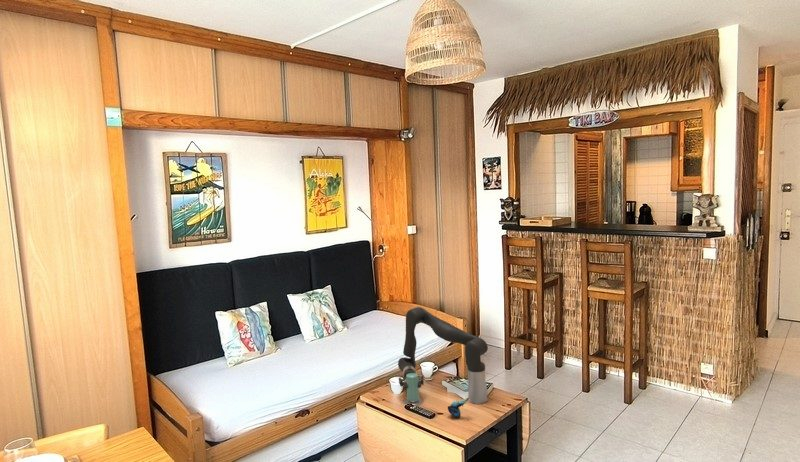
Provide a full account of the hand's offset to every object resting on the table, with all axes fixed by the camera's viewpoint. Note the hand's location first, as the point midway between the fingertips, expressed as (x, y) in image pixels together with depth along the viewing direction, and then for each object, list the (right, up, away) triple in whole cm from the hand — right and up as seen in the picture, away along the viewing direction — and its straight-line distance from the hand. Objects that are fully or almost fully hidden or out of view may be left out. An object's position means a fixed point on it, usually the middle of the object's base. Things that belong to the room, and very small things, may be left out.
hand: (413, 386), depth 257 cm
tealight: (0, -9, +3) cm, 9 cm away
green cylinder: (0, -7, +3) cm, 8 cm away
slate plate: (0, -9, +3) cm, 10 cm away
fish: (+22, -10, -16) cm, 29 cm away
